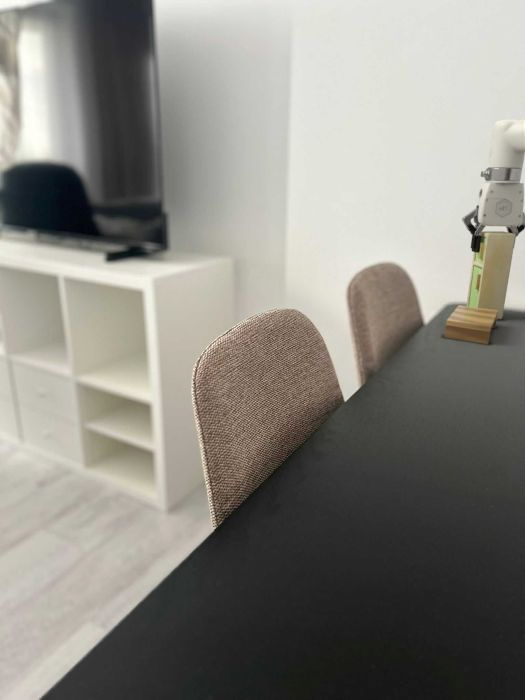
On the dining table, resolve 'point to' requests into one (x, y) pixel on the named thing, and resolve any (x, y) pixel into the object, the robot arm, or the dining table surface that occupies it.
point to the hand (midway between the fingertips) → (491, 251)
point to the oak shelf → (471, 324)
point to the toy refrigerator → (491, 271)
